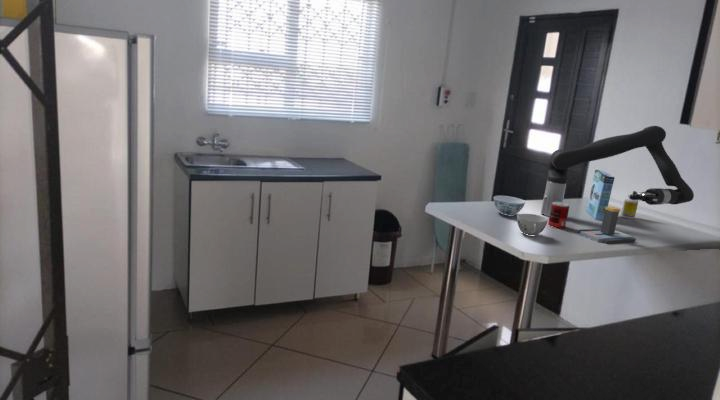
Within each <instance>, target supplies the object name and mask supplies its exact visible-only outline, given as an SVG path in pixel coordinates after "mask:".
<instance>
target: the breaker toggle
mask: <svg viewBox="0 0 720 400" xmlns="http://www.w3.org/2000/svg"><path fill="white" fill-rule="evenodd" d="M620 212H621V208H618V207H615V206H608V207H605V213H604V218H603V221H601V226H600V227H601V228H600V229H601V231H600V232H602V233H605V234H607V235H610V234H614V232H615V230H616V227H617V223H618V219H619V215H620Z"/></svg>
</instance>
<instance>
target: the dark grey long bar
mask: <svg viewBox="0 0 720 400" xmlns="http://www.w3.org/2000/svg"><path fill="white" fill-rule="evenodd" d="M636 240H637V239H636V238H634V237H633V238H625V239H607V240H604V242H603V243H604V244H606V245H611V244H626V243H636Z"/></svg>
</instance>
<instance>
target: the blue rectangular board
mask: <svg viewBox="0 0 720 400" xmlns="http://www.w3.org/2000/svg"><path fill="white" fill-rule="evenodd" d="M579 236H582V237H584V236H585V237H584V238H587V239H589V238H590V239H589V240H592V241H593V242H594V241H595V242H596V241H597V243H602V242H603V243H604V240H607V239H625V238H634V236H633V235H630V234H627V233H625V232H621V231H619V230H617V229H615V232H614V234H610V235H607V234H605V233H602V232H600V231H580V233H579Z"/></svg>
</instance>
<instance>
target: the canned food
mask: <svg viewBox="0 0 720 400" xmlns="http://www.w3.org/2000/svg"><path fill="white" fill-rule="evenodd" d="M569 210H570V203H569V204H568V202H567V203H566V202H564V201H563V202H552V206H551V211H550V216H548V217H549V218H548V221H547V224H548V226H549V225H550V226H549V227H551V226H553V227H552V228H554V227H556V228H555V229H560V228H562V229H565V228H566V224H567V220H568V216H569Z"/></svg>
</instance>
